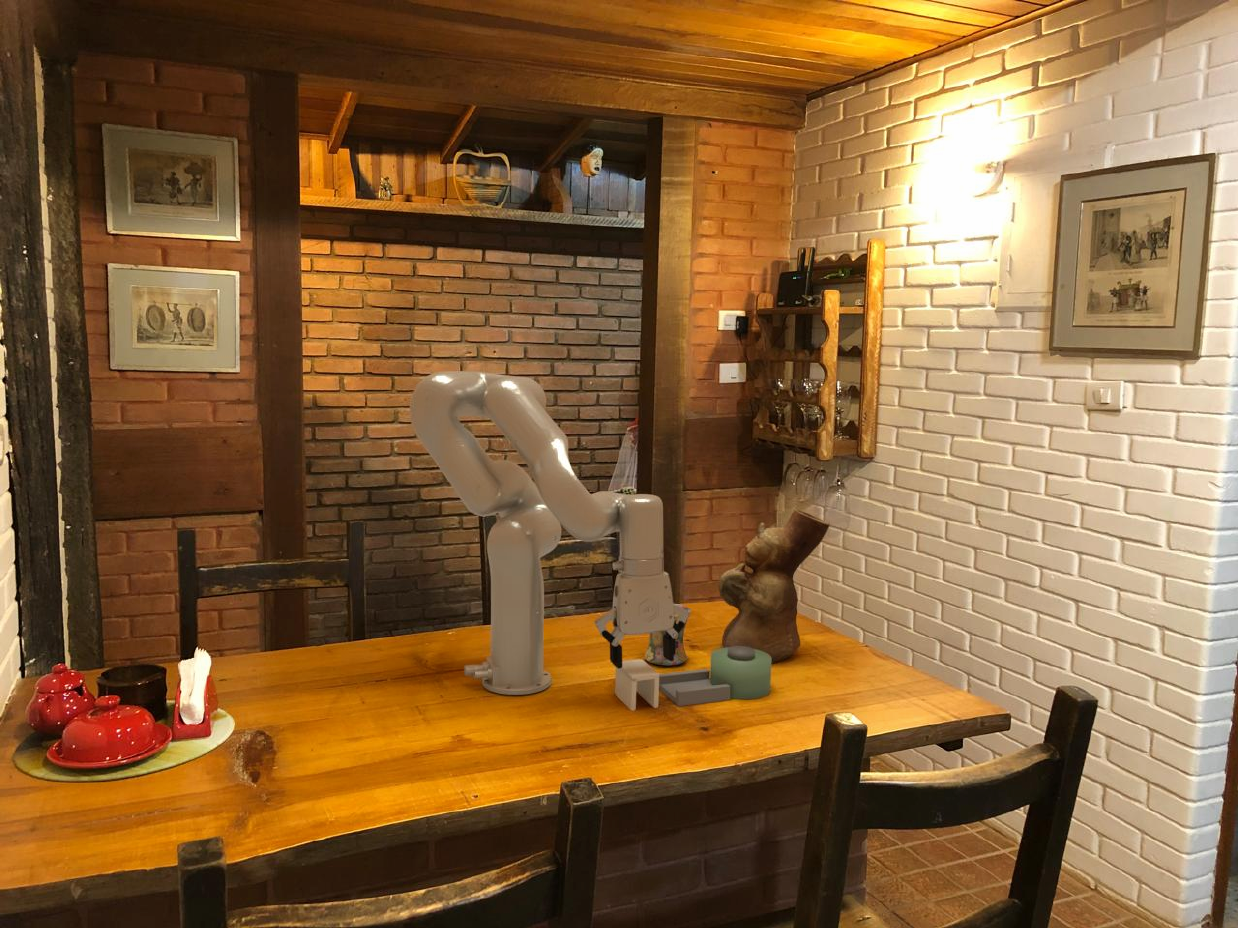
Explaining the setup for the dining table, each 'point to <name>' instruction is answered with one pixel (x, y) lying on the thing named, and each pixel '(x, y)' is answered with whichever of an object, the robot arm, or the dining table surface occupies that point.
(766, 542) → the ceramic vessel
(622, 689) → the arch block
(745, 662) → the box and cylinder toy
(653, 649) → the floral vase
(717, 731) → the dining table surface
